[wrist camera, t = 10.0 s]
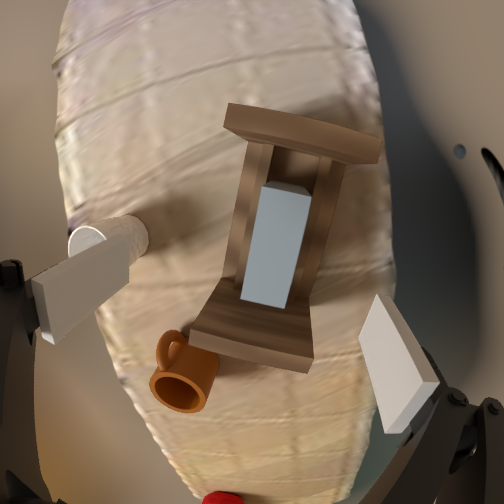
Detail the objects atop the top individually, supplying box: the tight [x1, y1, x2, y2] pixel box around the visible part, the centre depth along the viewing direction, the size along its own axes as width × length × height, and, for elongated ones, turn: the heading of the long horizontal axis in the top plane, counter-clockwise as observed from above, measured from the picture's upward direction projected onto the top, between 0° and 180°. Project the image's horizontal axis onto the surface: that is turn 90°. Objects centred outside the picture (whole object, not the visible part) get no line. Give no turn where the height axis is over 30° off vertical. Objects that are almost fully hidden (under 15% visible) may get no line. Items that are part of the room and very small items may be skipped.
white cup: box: [68, 215, 149, 267], centre depth 34 cm, size 8×8×10 cm
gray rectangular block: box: [240, 180, 312, 309], centre depth 29 cm, size 10×4×12 cm, turn 170°
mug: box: [149, 330, 219, 413], centre depth 40 cm, size 9×12×9 cm
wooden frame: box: [188, 103, 382, 374], centre depth 29 cm, size 22×12×14 cm, turn 168°
